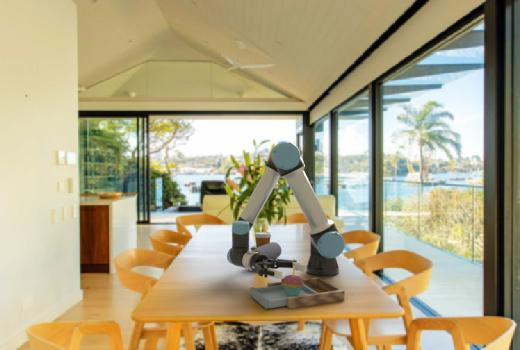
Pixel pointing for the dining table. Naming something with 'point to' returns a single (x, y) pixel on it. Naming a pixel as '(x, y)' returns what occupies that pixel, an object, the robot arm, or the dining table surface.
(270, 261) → the robot arm
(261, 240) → the disposable coffee cup
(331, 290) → the dock
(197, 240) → the dining table surface
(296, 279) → the cupcake
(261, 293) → the tray
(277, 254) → the bluetooth speaker
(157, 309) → the dining table surface
